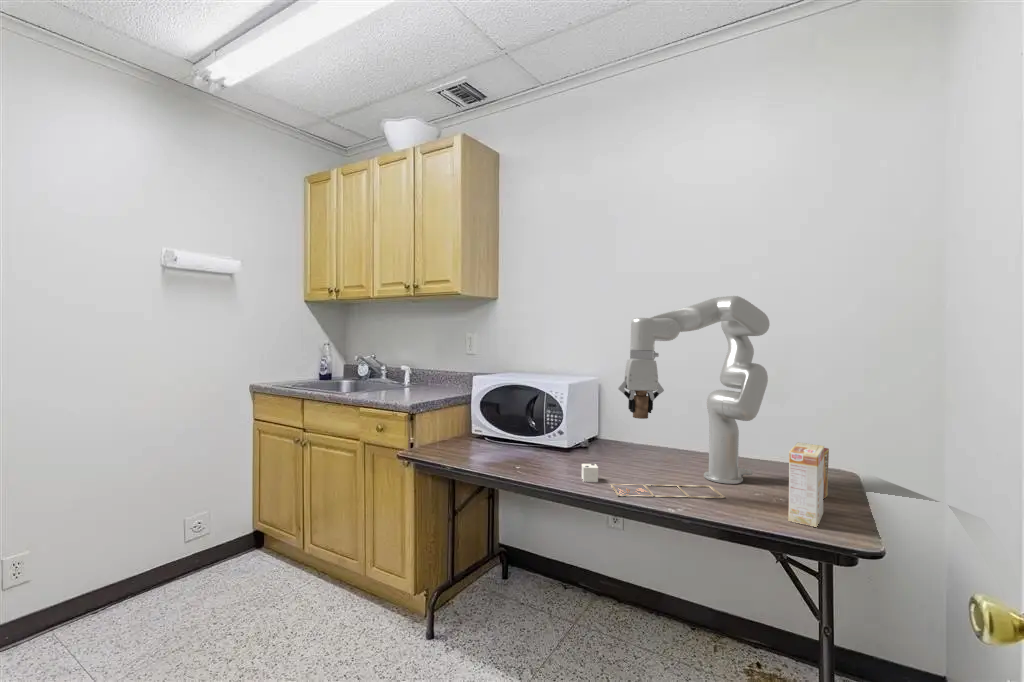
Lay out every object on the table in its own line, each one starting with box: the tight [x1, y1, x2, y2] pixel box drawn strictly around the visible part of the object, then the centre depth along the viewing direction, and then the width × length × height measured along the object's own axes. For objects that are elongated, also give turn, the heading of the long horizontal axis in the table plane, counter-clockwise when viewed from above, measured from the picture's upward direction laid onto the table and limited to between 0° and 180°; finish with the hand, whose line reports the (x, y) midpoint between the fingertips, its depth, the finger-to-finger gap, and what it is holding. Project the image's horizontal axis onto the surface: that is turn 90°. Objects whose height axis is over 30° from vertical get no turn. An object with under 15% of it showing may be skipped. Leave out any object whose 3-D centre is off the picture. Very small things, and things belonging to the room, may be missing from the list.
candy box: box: [823, 447, 830, 500], centre depth 148 cm, size 9×4×15 cm, turn 137°
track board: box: [609, 483, 727, 499], centre depth 152 cm, size 34×12×1 cm, turn 89°
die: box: [581, 463, 599, 483], centre depth 163 cm, size 5×5×5 cm
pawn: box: [632, 390, 649, 420], centre depth 152 cm, size 5×5×10 cm
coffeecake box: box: [787, 442, 825, 528], centre depth 131 cm, size 15×7×20 cm, turn 141°
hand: (640, 411), depth 152 cm, fingers closed on pawn, 4 cm apart
